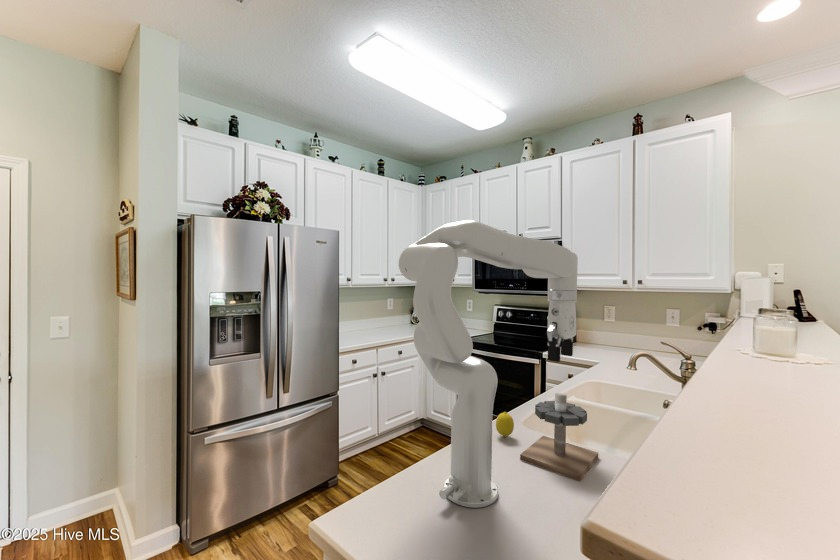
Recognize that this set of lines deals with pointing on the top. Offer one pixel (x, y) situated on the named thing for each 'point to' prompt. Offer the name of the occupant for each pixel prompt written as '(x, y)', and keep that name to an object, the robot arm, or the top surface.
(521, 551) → the top surface
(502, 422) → the lemon
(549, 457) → the pipe stand
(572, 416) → the grey flat ring
